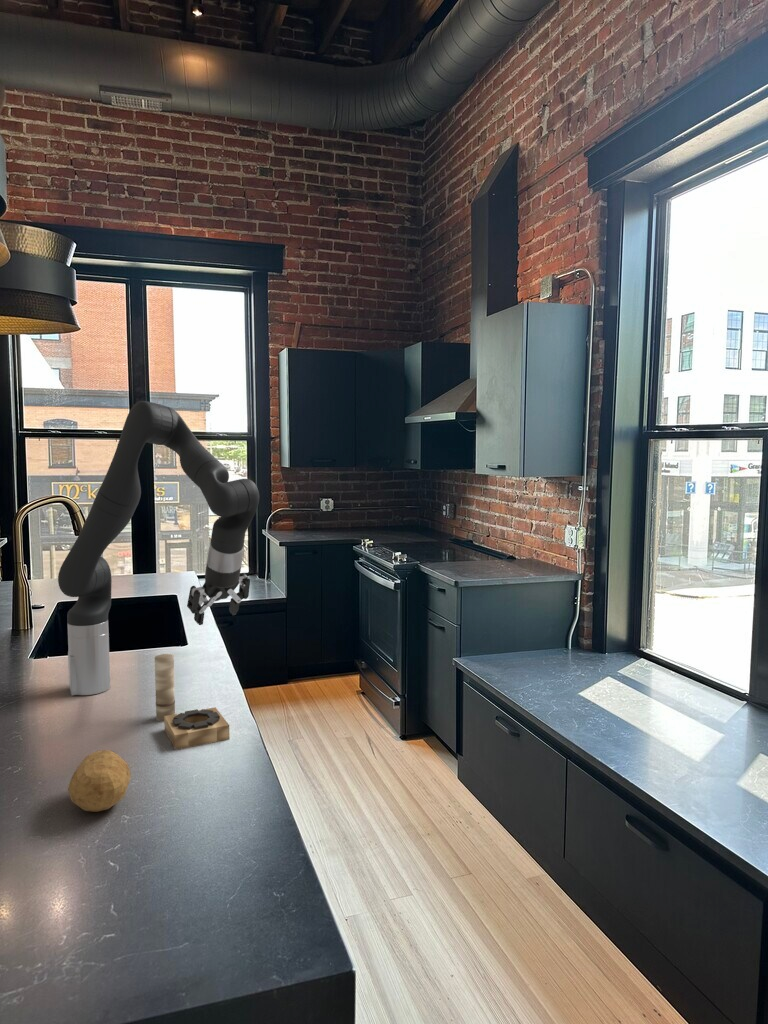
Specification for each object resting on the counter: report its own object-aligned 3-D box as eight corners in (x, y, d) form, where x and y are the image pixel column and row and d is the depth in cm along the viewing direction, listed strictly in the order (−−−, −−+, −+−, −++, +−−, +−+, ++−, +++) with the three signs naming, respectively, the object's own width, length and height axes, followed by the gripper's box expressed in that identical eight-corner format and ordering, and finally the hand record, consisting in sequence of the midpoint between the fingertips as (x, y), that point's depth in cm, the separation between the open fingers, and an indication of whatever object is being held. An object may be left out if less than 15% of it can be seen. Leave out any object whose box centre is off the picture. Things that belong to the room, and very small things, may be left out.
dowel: (157, 722, 153) (156, 660, 151) (154, 716, 156) (152, 655, 155) (177, 719, 155) (175, 657, 153) (173, 713, 158) (171, 652, 157)
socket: (175, 749, 139) (174, 732, 139) (164, 729, 149) (164, 713, 149) (229, 739, 145) (229, 722, 144) (215, 720, 154) (215, 704, 154)
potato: (130, 780, 127) (129, 737, 126) (132, 819, 114) (131, 772, 113) (71, 789, 123) (69, 746, 123) (67, 830, 110) (65, 782, 110)
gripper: (244, 545, 160) (235, 600, 168) (186, 558, 151) (179, 616, 159) (261, 564, 156) (251, 619, 164) (202, 578, 147) (194, 636, 155)
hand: (215, 617), depth 161 cm, fingers open, 8 cm apart
